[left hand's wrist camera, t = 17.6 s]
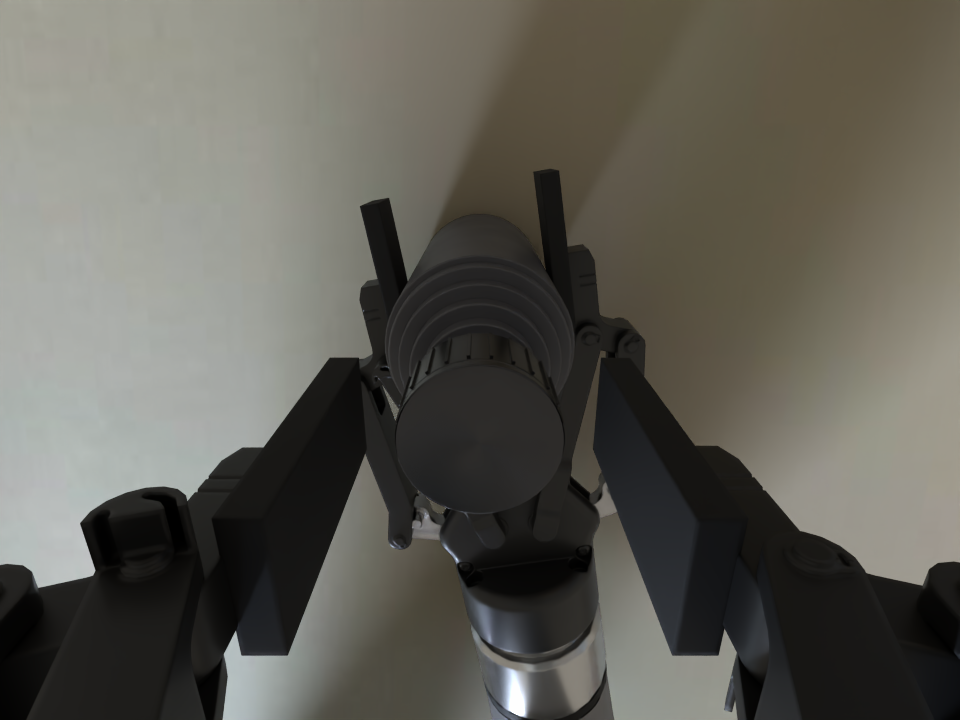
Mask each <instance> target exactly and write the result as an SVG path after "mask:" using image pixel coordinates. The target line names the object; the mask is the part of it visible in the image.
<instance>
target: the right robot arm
mask: <svg viewBox="0 0 960 720" xmlns="http://www.w3.org/2000/svg"><path fill="white" fill-rule="evenodd" d="M534 180H535V188H536V196H537V204H538V212H539V220H540V228H541V236H542V244H543V252H544V259H545V267H546V272H547V274H548V275H549V277H550V279H551V281H552V282H553V284H554V286H555V288H556V289H557V291H558V293H559V295H560V297H561V298H562V300H563V302H564V304H565V306H566V308H567V310H568V312H569V315H570V318H571V321H572V325H573V330H574V340H575V349H574V358H573V363H572V367H571V370H570V373H569V376H568V378H567V380H566V382H565V384H564V386H563V388H562V390H561V391H560V393H559V395H558V399H559V402H560V410H561V413H562V416H563V420H564V423H565V426H564V431H565V446H564V453H563V456H562V459H561V463H560V465H559V467H558V469H557V471H556V473H555V474H554V476H553V477H552V479H551V480H550V482H549V483H548V484H547V485H546V486H545V487H544V488H543V489H542V490H541V491H540V492H539V493H538V494H537V495H535V496H534V497H532V498H531V499H530V500H528V501H526V502H524V503H522V504H521V505H518V506H516V507H513V508H511V509H507V510H504V511H500V512H494V513H483V514H477V513H466V512H460V511H456V510H452V509H449V508H446V510H445V511H444V513H443V514H438V513H436V512H435V511H433V509H432V508H431V504H430V502H429V500H428V499H427V498H426V496H424V495H423V494H422V493H418V490H417V489H416V488H415V487H414V486H413V484H412V483H411V482H410V481H409V480H408V478H407V476H406V475H405V473H404V472H403V470H402V468H401V465H400V463H399V461H398V457H397V454H396V448H395V429H396V426H395V419H394V416H393V413H392V411H391V408H390V405H389V402H388V400H387V397H386V394H385V392H384V389H383V386H384V388H385V389H386V391H387V392H388V394H389V395H390V397H391V398H392V400H393V401H394V403H395V404H396V406H397V407H398V409H400V406H399V405H400V402H401V398H402V395H401V394H400V392H399V390H398V388H397V387H396V385H395V383H394V381H393V379H392V377H391V374H390V371H389V368H388V364H387V359H386V353H385V337H386V329H387V324H388V320H389V317H390V315H391V312H392V310H393V307H394V305H395V304H396V302H397V300H398V298H399V297H400V295H401V293H402V291H403V289H404V288H405V286H406V284H407V282H408V280H407V276H406V271H405V267H404V263H403V258H402V254H401V249H400V245H399V240H398V236H397V231H396V227H395V222H394V218H393V213H392V209H391V204H390V200H389V198H386V199H380V200H374V201H371V202H369V203H367V204H364V205H362V206H360V208H361V213H362V217H363V221H364V225H365V229H366V233H367V237H368V241H369V245H370V250H371V254H372V258H373V262H374V266H375V270H376V274H377V278H378V279H376V280H370V281H367V282H366V283H365V284H364V285H363V287H362V288H361V293H360V304H361V307H362V311H363V315H364V319H365V323H366V327H367V330H368V334H369V338H370V342H371V346H372V351H373V354H372V355H370V356H368V357H367V358H365V359H359V364H360V375H361V387H362V398H363V410H364V421H365V432H366V444H367V450H366V453H365V454H366V456H367V459H368V461H369V464H370V466H371V469H372V471H373V474H374V476H375V479H376V481H377V484H378V486H379V489H380V491H381V494H382V496H383V499H384V501H385V504H386V506H387V509H388V511H389V528H388V541H389V544H390V545H391V546H392V547H393V548H395V549H399V550H400V549H405V548H407V547H409V546H410V544H411V541H412V538H416V539H431V540H440V542H441V544H442V546H443V547H444V548H445V549H446V550H447V551H448V552H449V553H450V554H451V556H452V557H453V559H454V560H455V563H456V568H457V572H458V576H459V580H460V584H461V589H462V593H463V597H464V601H465V605H466V610H467V614H468V618H469V620H470V623H471V624H470V627H471V631H472V635H473V639H474V643H475V647H476V651H477V655H478V659H479V663H480V667H481V671H482V676H483V679H484V683H485V687H486V691H487V695H488V700H489V705H490V710H491V715H492V720H614V716H613V710H612V704H611V697H610V691H609V685H608V678H607V668H606V651H605V643H604V635H603V627H602V619H601V612H600V604H599V593H598V585H597V576H596V567H595V559H594V550H593V537H594V534H595V532H596V530H597V528H598V526H599V523H600V518H603V517H605V516H608V515H611V514H614V513H617V510H616V507H615V505H614V502H613V500H612V497H611V494H610V492H609V489H608V487H607V484H606V481H605V479H604V476H603V474H602V471H601V474H600V475H599V478H598V480H599V486H598V488H597V490H596V491H595V492H593V493H591V494H590V493H589V492H588V491H587V490H586V489H585V488H584V487H583V486H581V485H580V484H579V483H578V482H577V481H576V480H575V479H574V478H572V477H571V470H572V456H573V453H574V449H575V445H576V441H577V437H578V434H579V430H580V426H581V422H582V419H583V415H584V411H585V407H586V403H587V400H588V396H589V392H590V388H591V384H592V381H593V377H594V373H595V369H596V365H597V362H598V358H599V354H600V350H601V351H606V358H631V360H632V361H633V362H634V364H635V365H636V366H637V368H638V369H639V370H640V372H641V373H642V375H643V376H644V367H645V340H644V339H643V337H642V336H641V335H640V334H639V333H638V332H637V330H636V329H635V328H634V327H633V326H632V325H631V324H630V323H629V321H628V320H626V319H624V318H615V319H612V318H606V317H603V316H601V315H600V314H599V305H598V294H597V284H596V274H595V273H596V272H595V262H594V259H593V257H592V255H591V253H590V251H589V249H587V248H586V247H585V246H584V245H583V244H582V245H576V246H570V247H567V239H566V230H565V221H564V212H563V203H562V194H561V185H560V175H559V170H554V169H547V170H541V171H535V172H534ZM382 385H383V386H382Z"/></svg>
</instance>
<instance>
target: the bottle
mask: <svg viewBox="0 0 960 720" xmlns="http://www.w3.org/2000/svg"><path fill="white" fill-rule="evenodd" d="M468 333H471V334H476V333H484V334H489V333H492V334H493V335H498V336H502V337H505V338H509V337H510V338H512V340H513V341H515V342H517V343H519V344H520V345H522V346H524V347H525V348H526V347H528V348H529V350H530V352H531V353H532V354H534V355H535V357H536V358H537V359H538V360H539V361H541V360H542V362H543V364H544V368H545V370H546V372H547V374H548V376H549V377H550V376H551V378H552V381H553V384H554V387H555V390H556V393H557V396H558V395H559V393H560V391H561V390H562V388H563V386H564V384H565V382H566V380H567V378H568V376H569V373H570V370H571V367H572V363H573V358H574V349H575V340H574V330H573V325H572V321H571V318H570V315H569V312H568V310H567V308H566V306H565V304H564V302H563V300H562V298H561V297H560V295H559V293H558V291H557V289H556V288H555V286H554V284H553V282H552V281H551V279H550V277H549V275H548V274H547V272H546V270H545V268H544V267H543V265H542V263H541V261H540V259H539V258H538V256H537V254H536V252H535V251H534V249H533V247H532V245H531V244H530V242H529V240H528V239H527V238H526V236H525V235H524V234H523V233H522V232H521V231H520V230H519V229H518V228H517V227H516V226H515V225H513V224H511V223H510V222H508V221H506V220H504V219H502V218H499V217H496V216H493V215H486V214H474V215H468V216H464V217H461V218H458V219H456V220H454V221H452V222H450V223H448V224H447V225H446V226H444V227H443V228H442V229H441V230H440V231H439V232H438V233H437V234H436V235H435V236H434V237H433V239H432V240H431V242H430V244H429V245H428V247H427V249H426V251H425V252H424V254H423V256H422V258H421V259H420V261H419V263H418V265H417V267H416V268H415V270H414V272H413V274H412V275H411V277H410V279H409V281H408V282H407V284H406V286H405V288H404V289H403V291H402V293H401V295H400V297H399V298H398V300H397V302H396V304H395V305H394V307H393V310H392V312H391V315H390V317H389V320H388V324H387V329H386V337H385V353H386V359H387V364H388V368H389V371H390V374H391V377H392V379H393V381H394V383H395V385H396V387H397V388H398V390H399V392H400V394H401V395H403V392H404V389H405V386H406V383H407V380H408V377H409V376H410V377H411V376H412V374H413V372H414V370H415V367H416V364H417V361H418V360H420V361H421V360H422V358H423V357H424V356H425V355H426V354H427V353H428V352H430V349H431V348H432V347H434V348H435V347H436V346H438V345H439V344H441V343H443V342H445V341H447V340H448V338H450V337H451V338H455V337H458V336H461V335H467V334H468Z"/></svg>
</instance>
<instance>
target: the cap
mask: <svg viewBox="0 0 960 720" xmlns="http://www.w3.org/2000/svg"><path fill="white" fill-rule="evenodd" d="M399 406H400V409H399V412H398V415H397V418H396V421H395V426H396V429H395V448H396V454H397V457H398V461H399V463H400V465H401V468H402V470H403V472H404V473H405V475H406V476H407V478H408V480H409V481H410V482H411V483H412V484H413V486H414V487H415V488H416V489H417V490H419V491H420V492H421V493H422V494H423V495H424V496H426V497H427V498H429V499H430V500H432V501H434V502H435V503H437V504H439V505H441V506H444V507H446V508H449V509H452V510H456V511H460V512H466V513H477V514H483V513H494V512H500V511H504V510H507V509H511V508H513V507H516V506H518V505H521V504H522V503H524V502H526V501H528V500H530V499H531V498H532V497H534V496H535V495H537V494H538V493H539V492H540V491H541V490H542V489H543V488H544V487H545V486H546V485H547V484H548V483H549V482H550V480H551V479H552V477H553V476H554V474H555V473H556V471H557V469H558V467H559V465H560V463H561V459H562V456H563V453H564V446H565V431H564V426H565V423H564V420H563V416H562V413H561V410H560V402H559V399H558V396H557V393H556V390H555V387H554V384H553V381H552V378H551V376H550V377H549V376H548V374H547V372H546V370H545V368H544V364H543V362H542V360H541V361H539V360H538V359H537V358H536V357H535V355H534V354H532V353H531V352H530V350H529V348H528V347H526V348H525V347H524V346H522V345H520V344H519V343H517V342H515V341H513V340H512V338H510V337H509V338H505V337H502V336H498V335H493V334H492V333H489V334H484V333H476V334H471V333H468V334H467V335H461V336H458V337H455V338H451V337H450V338H448V340H447V341H445V342H443V343H441V344H439V345H438V346H436V347H435V348H434V347H432V348H431V349H430V352H428V353H427V354H426V355H425V356H424V357H423V358H422V360H421V361H420V360H418V361H417V364H416V367H415V370H414V372H413V374H412V376H411V377H410V376H409V377H408V380H407V383H406V386H405V389H404V392H403V395H402V398H401V402H400V405H399Z"/></svg>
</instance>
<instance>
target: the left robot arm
mask: <svg viewBox="0 0 960 720" xmlns="http://www.w3.org/2000/svg"><path fill="white" fill-rule="evenodd" d="M366 450H367V444H366V432H365V421H364V410H363V398H362V387H361V375H360V364H359V358H329V360H328V361H327V362H326V364H325V365H324V366H323V368H322V369H321V370H320V372H319V373H318V375H317V376H316V377H315V379H314V380H313V381H312V383H311V384H310V385H309V387H308V388H307V389H306V391H305V392H304V393H303V395H302V396H301V398H300V399H299V400H298V402H297V403H296V404H295V406H294V407H293V408H292V410H291V411H290V412H289V414H288V415H287V417H286V418H285V419H284V421H283V422H282V423H281V425H280V426H279V427H278V429H277V430H276V431H275V433H274V434H273V436H272V437H271V438H270V440H269V441H268V442H267V444H266V445H265V446H264V448H241V449H240V450H238V451H236V452H235V453H233V454H232V455H230V456H228V457H227V458H225V459H224V460H222V461H221V462H220V463H219V465H218V466H217V467H216V468H215V469H214V470H213V472H212V473H211V474H210V475H209V479H206V480H205V481H204V482H203V484H202V485H201V486H200V487H199V488H198V492H195V493H194V494H193V495H192V497H191V498H190V499H189V500H188V501H187V498H186V495H185V494H183V493H182V492H181V491H179V490H178V489H174V488H169V487H150V488H143V489H139V490H135V491H131V492H127V493H124V494H122V495H120V496H117V497H115V498H113V499H110V500H108V501H106V502H104V503H103V504H101V505H100V506H98V507H97V508H95V509H94V510H92V511H91V512H90V513H89V514H88V515H87V516H86V517H85V518H84V519H83V521H82V522H81V523H80V525H81V528H82V531H83V534H84V537H85V540H86V543H87V546H88V549H89V552H90V555H91V558H92V561H93V564H94V567H95V570H96V571H95V573H94V575H93V576H91V577H87V578H83V579H78V580H73V581H69V582H64V583H60V584H55V585H50V586H46V587H41V588H38V587H37V584H36V581H35V579H34V576H33V574H32V572H31V571H30V570H29V569H27V568H26V567H24V566H23V565H12V564H4V565H0V720H222V719H223V711H224V703H225V694H226V686H227V677H228V676H227V668H226V663H225V658H224V652H225V650H226V649H227V647H228V645H229V643H230V641H231V639H232V637H233V635H234V633H235V631H236V633H237V637H238V642H239V646H240V651H241V655H242V656H288V653H289V651H290V648H291V646H292V643H293V640H294V638H295V635H296V633H297V630H298V627H299V625H300V622H301V620H302V617H303V614H304V612H305V609H306V607H307V604H308V601H309V599H310V596H311V593H312V591H313V588H314V586H315V583H316V580H317V578H318V575H319V573H320V570H321V567H322V565H323V562H324V560H325V557H326V554H327V552H328V549H329V547H330V544H331V541H332V539H333V536H334V534H335V531H336V528H337V526H338V523H339V521H340V518H341V515H342V513H343V510H344V507H345V505H346V502H347V500H348V497H349V494H350V492H351V489H352V487H353V484H354V481H355V479H356V476H357V474H358V471H359V468H360V466H361V463H362V461H363V458H364V455H365V453H366ZM593 450H594V453H595V455H596V458H597V461H598V463H599V466H600V468H601V471H602V474H603V476H604V479H605V481H606V484H607V487H608V489H609V492H610V494H611V497H612V500H613V502H614V505H615V507H616V510H617V513H618V515H619V518H620V521H621V523H622V526H623V528H624V531H625V534H626V536H627V539H628V541H629V544H630V547H631V549H632V552H633V554H634V557H635V560H636V562H637V565H638V567H639V570H640V573H641V575H642V578H643V580H644V583H645V586H646V588H647V591H648V593H649V596H650V599H651V601H652V604H653V607H654V609H655V612H656V614H657V617H658V620H659V622H660V625H661V627H662V630H663V633H664V635H665V638H666V640H667V643H668V646H669V648H670V651H671V653H672V656H718V655H719V651H720V646H721V642H722V637H723V633H724V628H725V630H726V632H727V634H728V636H729V638H730V640H731V642H732V644H733V646H734V648H735V650H736V651H737V654H736V658H735V663H734V667H733V671H732V675H731V679H730V684H729V688H728V692H727V696H726V702H725V709H724V710H726V711H730V712H732V710H733V706H734V702H735V701H736V709H737V718H738V720H960V563H959V562H944V563H937V564H936V565H935V566H933V567H932V568H930V569H929V571H928V574H927V576H926V579H925V581H924V584H923V586H921V585H916V584H912V583H907V582H902V581H898V580H893V579H888V578H884V577H879V576H875V575H871V574H867V573H866V572H865V570H864V569H863V567H862V566H861V565H860V563H859V562H858V561H857V559H856V558H855V557H854V556H852V555H851V554H850V553H849V552H847V551H846V550H845V549H843V548H842V547H841V546H839V545H837V544H835V543H833V542H831V541H829V540H827V539H825V538H823V537H820V536H816V535H813V534H809V533H806V532H802V531H799V529H798V528H797V527H796V526H795V525H794V524H793V522H792V521H791V520H790V519H789V518H788V517H787V515H786V514H785V513H784V512H783V511H782V509H781V508H780V507H779V506H778V505H777V504H776V502H775V501H774V500H773V499H772V498H771V496H770V495H769V494H768V493H767V492H766V491H765V490H763V489H762V488H763V487H762V486H761V485H760V484H759V482H758V481H757V480H756V479H755V478H754V477H752V474H751V473H750V472H749V471H748V469H747V468H746V467H745V466H744V465H743V464H742V462H741V461H740V460H739V459H738V458H736V457H735V456H733V455H731V454H730V453H728V452H727V451H725V450H724V449H722V448H720V447H719V446H695V445H694V444H693V442H692V441H691V440H690V438H689V437H688V436H687V434H686V433H685V431H684V430H683V429H682V427H681V426H680V425H679V423H678V422H677V421H676V419H675V418H674V417H673V415H672V414H671V412H670V411H669V410H668V408H667V407H666V406H665V404H664V403H663V402H662V400H661V399H660V398H659V396H658V395H657V393H656V392H655V391H654V389H653V388H652V387H651V385H650V384H649V383H648V381H647V380H646V379H645V377H644V376H643V375H642V373H641V372H640V370H639V369H638V368H637V366H636V365H635V364H634V362H633V361H632V360H631V358H601V364H600V375H599V387H598V398H597V410H596V421H595V432H594V444H593Z"/></svg>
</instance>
